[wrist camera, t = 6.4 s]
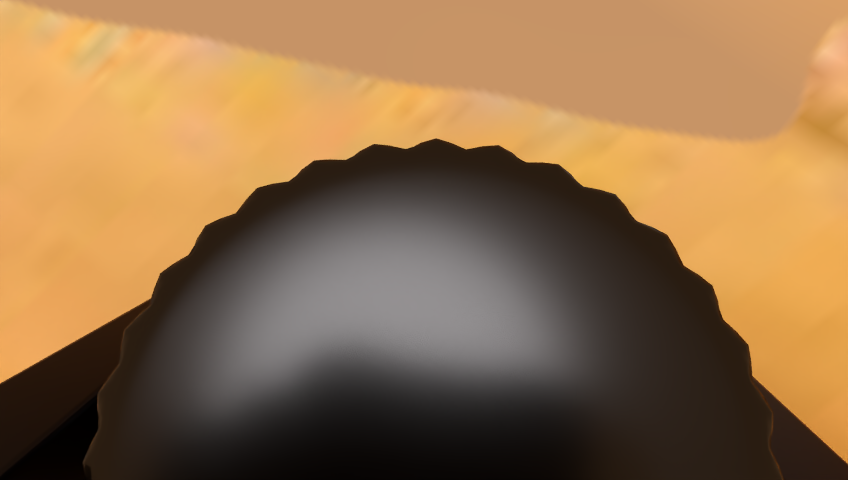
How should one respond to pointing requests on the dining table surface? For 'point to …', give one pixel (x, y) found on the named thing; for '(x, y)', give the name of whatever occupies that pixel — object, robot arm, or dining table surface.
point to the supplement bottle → (431, 338)
